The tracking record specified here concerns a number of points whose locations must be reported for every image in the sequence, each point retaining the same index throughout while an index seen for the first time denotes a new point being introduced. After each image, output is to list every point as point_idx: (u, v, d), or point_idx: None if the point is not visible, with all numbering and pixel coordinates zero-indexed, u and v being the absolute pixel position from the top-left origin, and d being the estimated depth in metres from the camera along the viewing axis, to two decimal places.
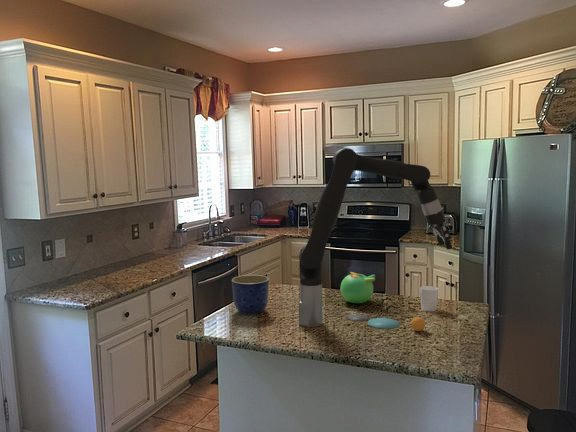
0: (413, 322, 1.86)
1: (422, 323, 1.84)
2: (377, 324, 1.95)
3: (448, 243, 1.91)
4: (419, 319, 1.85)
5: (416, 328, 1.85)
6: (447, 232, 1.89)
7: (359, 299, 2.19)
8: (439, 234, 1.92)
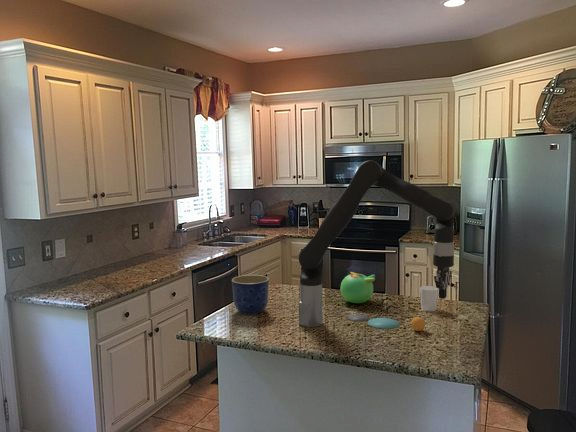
0: (413, 322, 1.86)
1: (422, 323, 1.84)
2: (377, 324, 1.95)
3: (440, 292, 1.78)
4: (419, 319, 1.85)
5: (416, 328, 1.85)
6: (439, 283, 1.75)
7: (359, 299, 2.19)
8: None
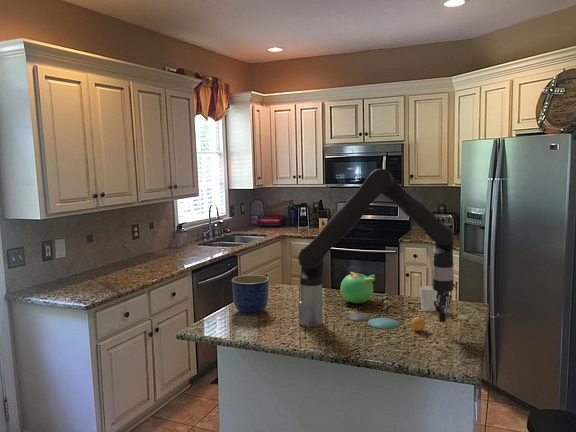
0: (413, 322, 1.86)
1: (422, 323, 1.84)
2: (377, 324, 1.95)
3: (441, 316, 1.79)
4: (419, 319, 1.85)
5: (416, 328, 1.85)
6: (440, 308, 1.76)
7: (359, 299, 2.19)
8: None
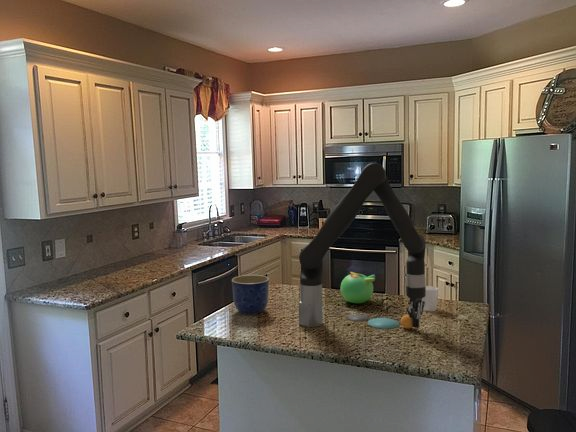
0: (402, 324, 1.89)
1: (405, 316, 1.89)
2: (377, 324, 1.95)
3: (414, 321, 1.86)
4: None
5: (407, 323, 1.87)
6: (412, 314, 1.83)
7: (359, 299, 2.19)
8: None
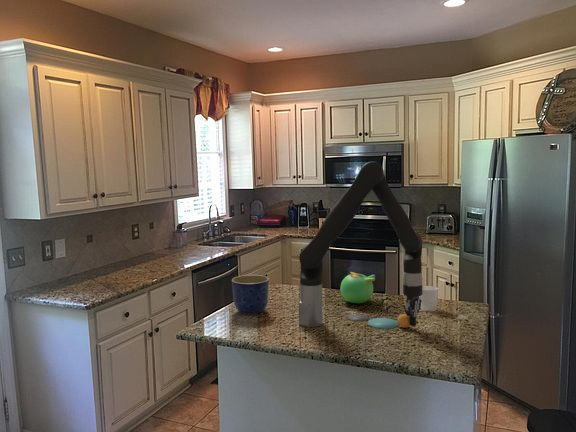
0: (399, 324, 1.90)
1: None
2: (377, 324, 1.95)
3: (411, 319, 1.87)
4: (397, 319, 1.92)
5: (403, 320, 1.88)
6: (409, 312, 1.84)
7: (359, 299, 2.19)
8: None
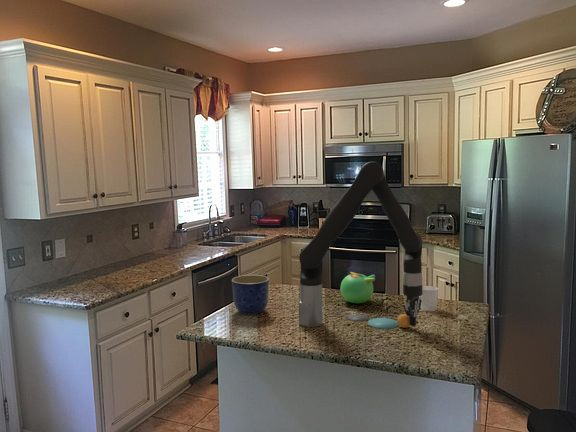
0: (399, 324, 1.90)
1: None
2: (377, 324, 1.95)
3: (411, 319, 1.87)
4: (397, 319, 1.92)
5: (403, 320, 1.88)
6: (409, 312, 1.84)
7: (359, 299, 2.19)
8: None
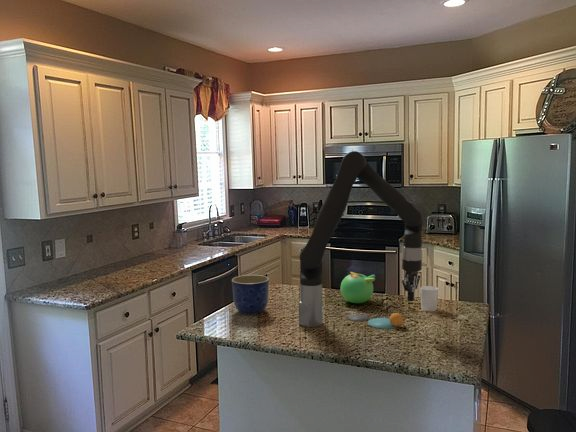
0: (395, 325, 1.91)
1: None
2: (377, 324, 1.95)
3: (409, 295, 1.86)
4: None
5: (392, 319, 1.91)
6: (407, 287, 1.83)
7: (359, 299, 2.19)
8: None
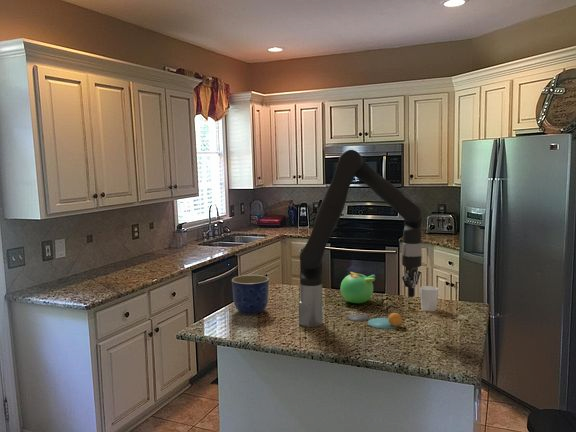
0: (395, 324, 1.91)
1: None
2: (377, 324, 1.95)
3: (409, 291, 1.86)
4: None
5: (391, 319, 1.91)
6: (408, 283, 1.83)
7: (359, 299, 2.19)
8: None
